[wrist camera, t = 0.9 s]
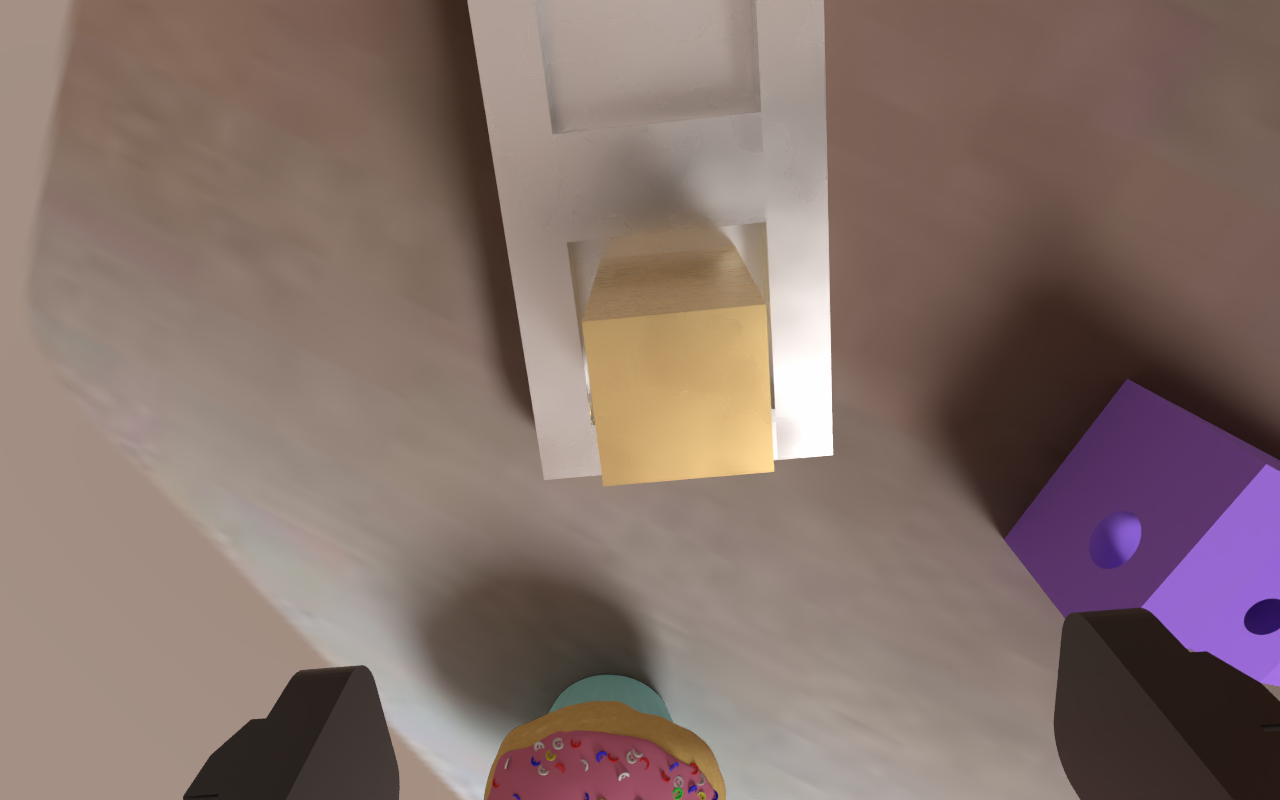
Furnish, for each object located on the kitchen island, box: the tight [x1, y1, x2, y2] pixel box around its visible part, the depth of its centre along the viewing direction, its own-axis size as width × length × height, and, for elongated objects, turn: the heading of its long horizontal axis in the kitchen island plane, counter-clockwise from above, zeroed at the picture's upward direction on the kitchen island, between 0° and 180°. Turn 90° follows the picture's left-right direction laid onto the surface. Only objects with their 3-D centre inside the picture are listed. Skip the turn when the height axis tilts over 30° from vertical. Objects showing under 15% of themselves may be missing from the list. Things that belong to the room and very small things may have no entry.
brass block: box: [582, 246, 774, 486], centre depth 22 cm, size 4×4×7 cm
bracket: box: [1004, 379, 1280, 686], centre depth 26 cm, size 12×7×7 cm, turn 63°
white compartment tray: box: [467, 0, 833, 480], centre depth 22 cm, size 9×26×3 cm, turn 6°
